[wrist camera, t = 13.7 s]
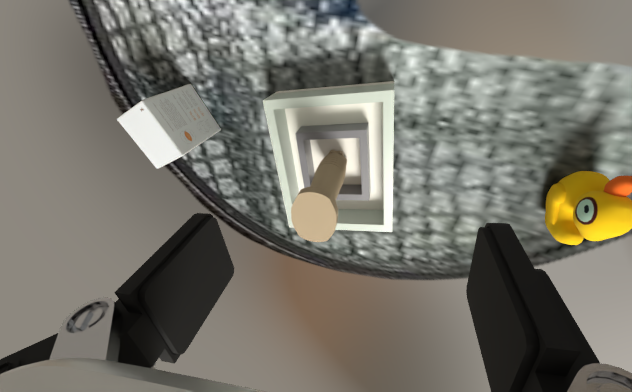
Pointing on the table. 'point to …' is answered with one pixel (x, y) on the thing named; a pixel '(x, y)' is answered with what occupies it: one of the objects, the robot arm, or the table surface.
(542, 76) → the table surface
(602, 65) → the table surface
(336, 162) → the handle
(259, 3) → the table surface
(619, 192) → the duckling
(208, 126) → the small box
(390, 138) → the housing
